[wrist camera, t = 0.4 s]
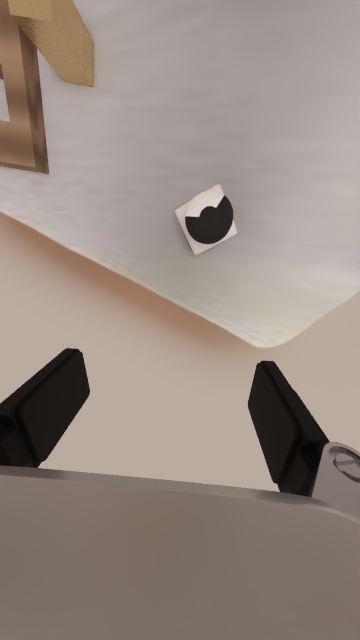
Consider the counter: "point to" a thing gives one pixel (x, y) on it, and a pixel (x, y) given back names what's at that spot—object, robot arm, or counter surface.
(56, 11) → the brass peg
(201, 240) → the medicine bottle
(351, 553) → the robot arm
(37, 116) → the walnut square hole board
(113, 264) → the counter surface
